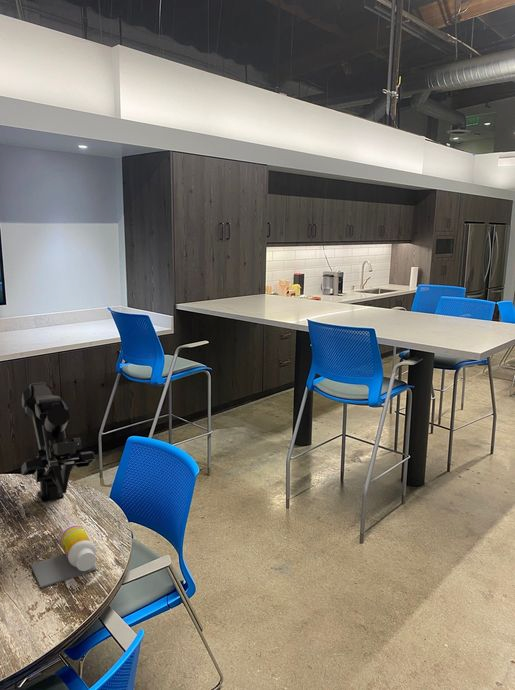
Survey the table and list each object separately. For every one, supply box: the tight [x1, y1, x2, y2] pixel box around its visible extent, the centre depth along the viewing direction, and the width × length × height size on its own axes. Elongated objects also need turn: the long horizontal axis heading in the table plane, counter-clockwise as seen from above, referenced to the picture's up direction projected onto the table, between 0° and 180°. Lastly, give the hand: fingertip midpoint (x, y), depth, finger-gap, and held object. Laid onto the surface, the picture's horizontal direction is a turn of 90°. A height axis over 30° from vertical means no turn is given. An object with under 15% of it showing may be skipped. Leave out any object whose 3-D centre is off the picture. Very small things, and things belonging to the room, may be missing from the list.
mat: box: [30, 553, 98, 589], centre depth 129 cm, size 10×13×1 cm
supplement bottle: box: [59, 524, 97, 571], centre depth 131 cm, size 7×7×13 cm
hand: (64, 492), depth 143 cm, fingers closed
